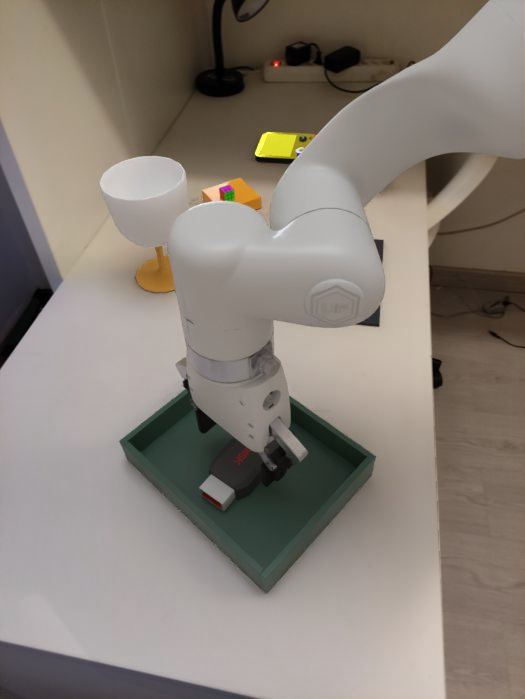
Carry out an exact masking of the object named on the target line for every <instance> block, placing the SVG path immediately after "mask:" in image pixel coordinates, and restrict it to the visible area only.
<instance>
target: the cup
mask: <svg viewBox="0 0 525 699" xmlns="http://www.w3.org/2000/svg"><path fill="white" fill-rule="evenodd" d="M186 173H187V172H186V170H185V169H184V167H183V165H182V164H181V163H180V162H178V161H176V160H174V159H172V158H171V157H165V156H160V155H146V156H145V155H142V156H136V157H132V158H128V159H124V160H122V161H120V162H118V163H116V164H114V165H111V166H110V167H109V168H108V169H107V170H106V171H104V172H103V173H102V175H101V177H100V180H99V183H98V185H99V188H100V191H101V194H102V197H103V199H104V202H105V205H106V208H107V209H108V212H109V214H110V216H111V219H112V221H113V223H114V225H115V227H116V229H117V231H119V233H120V235H122V236H123V237H124V238H126V239H127V240H128V241H129V242H131V243H133V244H134V245H135V246H139V247H144V248H154V250H155V254H156V257H154V258H151V259H149V260H147V261H146V262H144V263H143V264H141V266H140V267H139V268H138V270H137V271H136V275H135V280H136V282H137V285H138V286H139V287H140V288H141V289H143V290H144V291H146V292H151V293H155V294H157V293H158V294H160V293H161V294H162V293H163V294H164V293H170V292H173V291H175V286H174V280H173V275H172V270H171V265H170V260H169V255H164V251H163V246H166V245H167V240H168V234H169V231H170V228H171V226H172V224H173V223H174V221H175V220H176V219H177V218H178V217H179V216H180V215H181V214H182V213H184V212H185V211H186V210H188V209H189V208H188V207H189V206H188V205H189V198H188V196H189V195H188V182H187V174H186Z"/></svg>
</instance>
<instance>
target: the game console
mask: <svg viewBox="0 0 525 699" xmlns="http://www.w3.org/2000/svg"><path fill="white" fill-rule="evenodd" d="M317 134H318V133H303V132H301V133H300V132H280V131H267V132H264V133H262V135H261V136H260V139H259V141H258V145H257V147H256V149H255V152H254V159H255V161H257V162H259V163H269V164H287V165H291V164H292V163H293V161H294V160H295V159H296V158H297V157H298V156H299V154H300V153H301V152H302V151H303V150H304V149H305V148H306V147H307V145H308V144H309V143H310V142H311V141H312V140H313V139H314V138H315V137H316V135H317Z"/></svg>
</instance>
